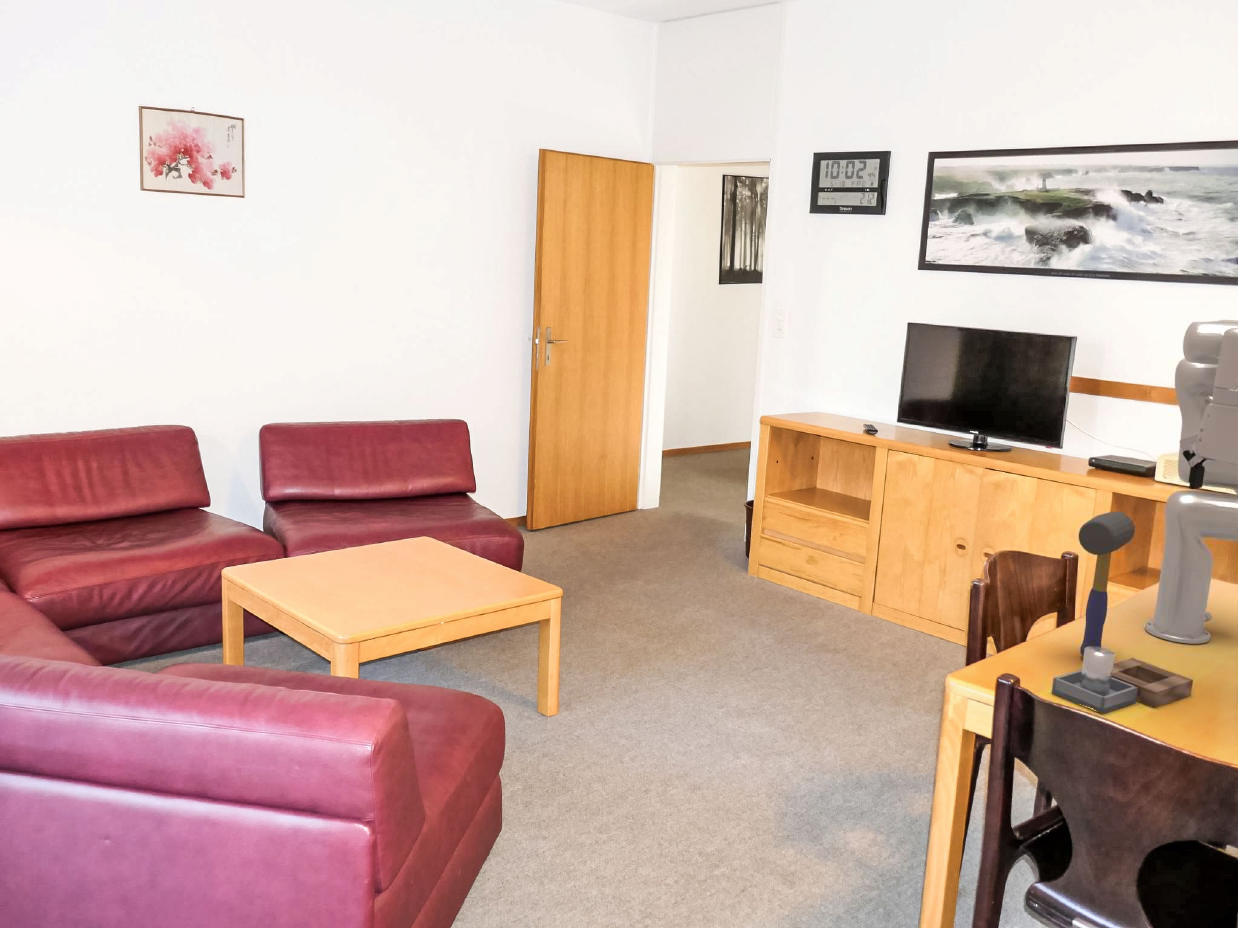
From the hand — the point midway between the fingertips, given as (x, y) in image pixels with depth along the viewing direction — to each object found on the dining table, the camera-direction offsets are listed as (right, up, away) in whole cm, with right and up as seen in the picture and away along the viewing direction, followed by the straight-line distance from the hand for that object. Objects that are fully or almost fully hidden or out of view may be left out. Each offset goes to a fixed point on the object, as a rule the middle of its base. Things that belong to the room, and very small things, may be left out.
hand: (1222, 494), depth 189 cm
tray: (-21, -37, +5) cm, 43 cm away
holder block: (-10, -37, +9) cm, 39 cm away
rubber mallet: (-13, -34, +24) cm, 43 cm away
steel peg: (-21, -36, +4) cm, 42 cm away
